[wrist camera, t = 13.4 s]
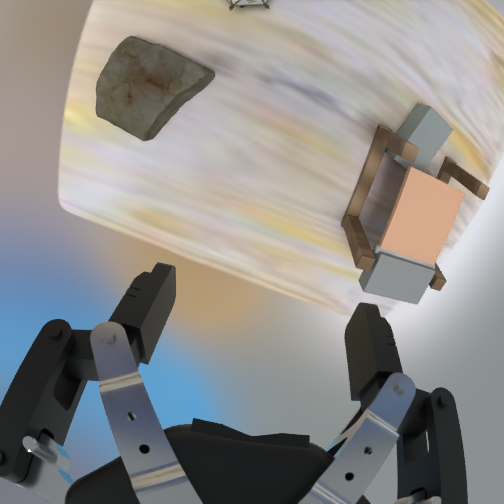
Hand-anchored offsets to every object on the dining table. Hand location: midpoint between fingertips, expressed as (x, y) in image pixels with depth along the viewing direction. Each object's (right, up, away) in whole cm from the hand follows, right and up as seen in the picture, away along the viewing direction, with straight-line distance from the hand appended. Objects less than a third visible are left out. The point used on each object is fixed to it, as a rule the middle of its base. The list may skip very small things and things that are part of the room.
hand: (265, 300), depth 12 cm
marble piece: (-16, +28, +26) cm, 41 cm away
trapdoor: (+22, +4, +24) cm, 33 cm away
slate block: (+24, +19, +23) cm, 38 cm away
